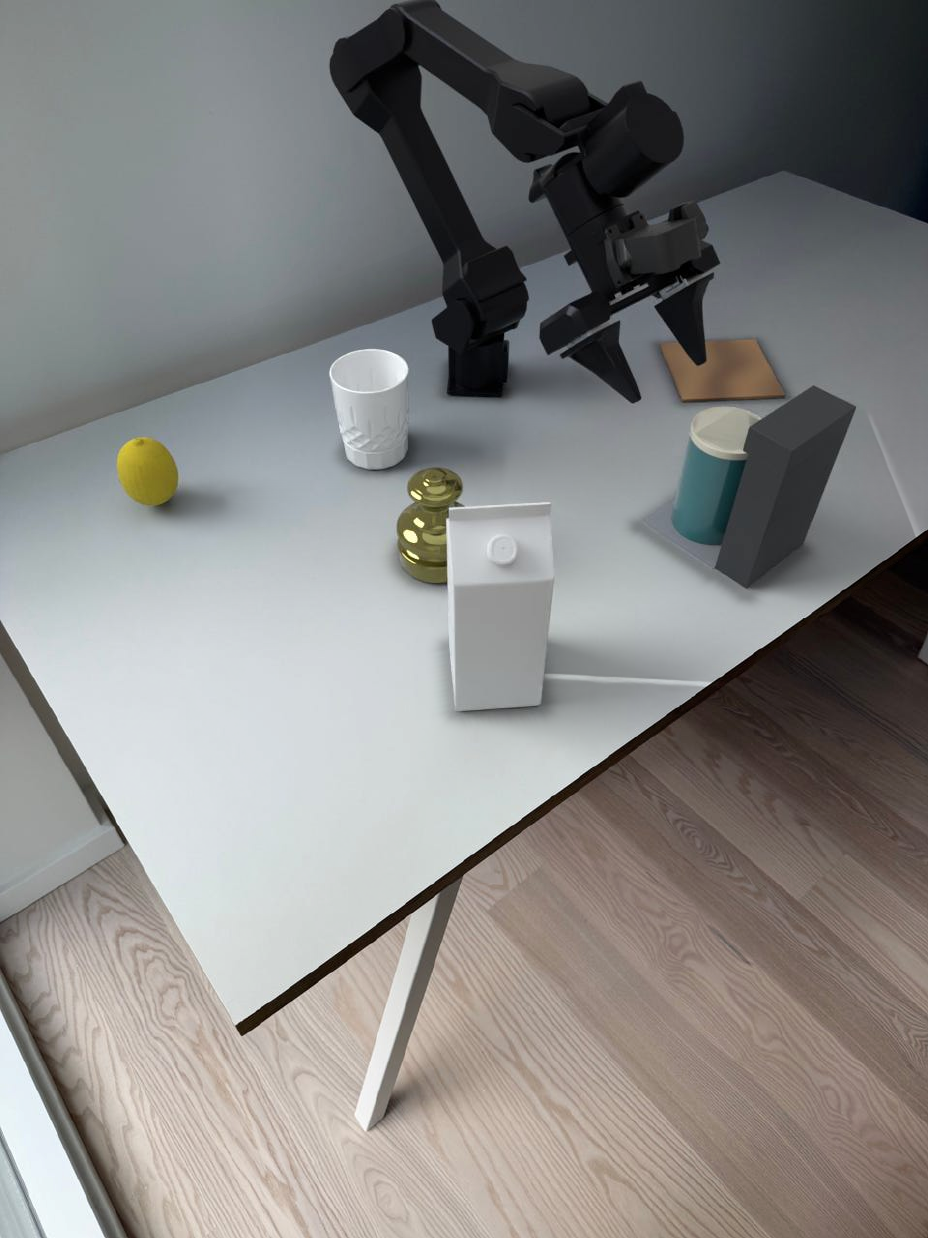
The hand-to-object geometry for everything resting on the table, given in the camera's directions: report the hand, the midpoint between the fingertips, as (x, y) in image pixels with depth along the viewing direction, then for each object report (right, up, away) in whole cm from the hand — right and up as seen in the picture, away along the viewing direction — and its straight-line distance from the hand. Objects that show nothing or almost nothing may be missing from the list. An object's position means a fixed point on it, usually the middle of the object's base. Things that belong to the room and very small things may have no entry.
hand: (670, 382), depth 82 cm
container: (+5, -12, +5) cm, 14 cm away
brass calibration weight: (-22, -16, +3) cm, 27 cm away
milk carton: (-17, -27, -6) cm, 32 cm away
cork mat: (+12, +8, +24) cm, 28 cm away
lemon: (-50, -10, +9) cm, 52 cm away
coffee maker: (+6, -14, +5) cm, 16 cm away
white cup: (-29, -4, +14) cm, 32 cm away
